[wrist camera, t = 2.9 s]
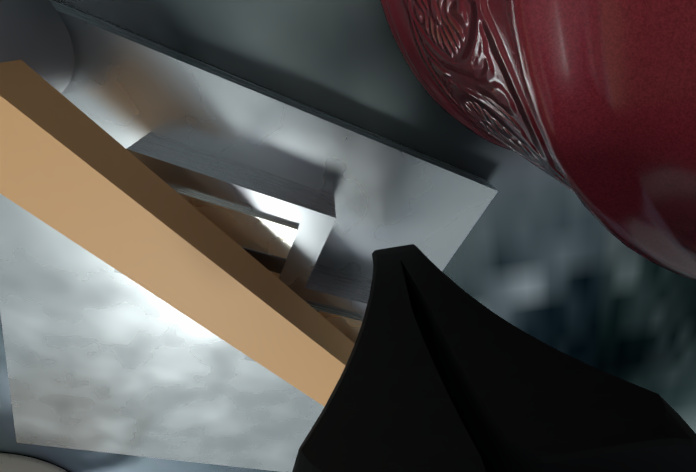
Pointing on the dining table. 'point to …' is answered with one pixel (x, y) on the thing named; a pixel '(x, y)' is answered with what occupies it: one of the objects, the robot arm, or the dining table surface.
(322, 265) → the base plate
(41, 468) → the teacup with lid
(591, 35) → the canister
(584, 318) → the dining table surface
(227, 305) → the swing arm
